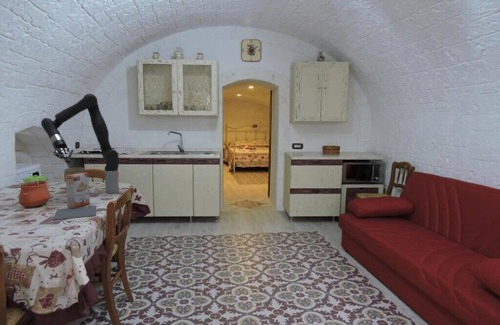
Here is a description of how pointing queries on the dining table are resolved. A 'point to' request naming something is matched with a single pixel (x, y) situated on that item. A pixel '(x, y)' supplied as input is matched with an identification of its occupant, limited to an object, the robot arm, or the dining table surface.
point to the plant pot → (74, 171)
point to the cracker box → (77, 190)
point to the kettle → (35, 178)
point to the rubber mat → (75, 212)
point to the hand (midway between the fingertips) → (68, 162)
